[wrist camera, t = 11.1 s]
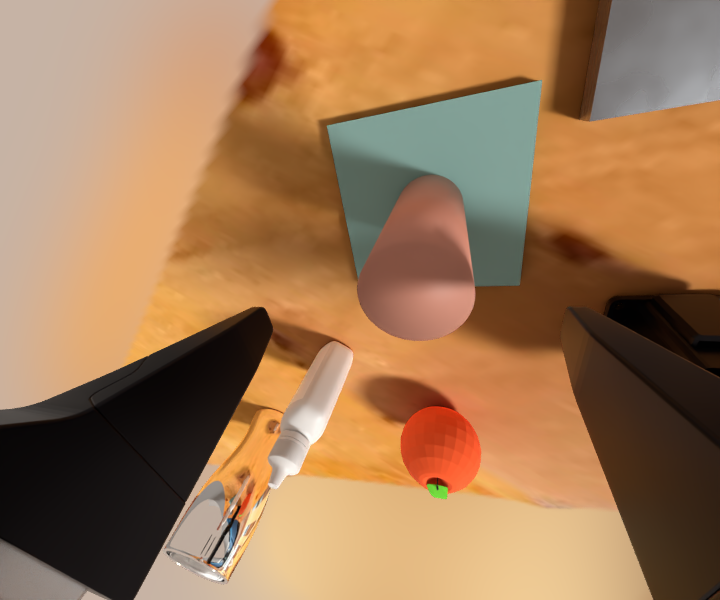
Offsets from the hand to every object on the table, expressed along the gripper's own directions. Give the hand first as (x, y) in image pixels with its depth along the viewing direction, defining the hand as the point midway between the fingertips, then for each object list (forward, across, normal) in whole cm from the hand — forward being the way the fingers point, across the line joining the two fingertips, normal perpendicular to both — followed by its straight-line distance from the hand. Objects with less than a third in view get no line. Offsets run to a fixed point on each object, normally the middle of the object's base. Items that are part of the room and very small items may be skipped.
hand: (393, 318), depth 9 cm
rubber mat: (+12, 0, 0) cm, 12 cm away
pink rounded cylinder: (+12, 0, 0) cm, 12 cm away
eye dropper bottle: (+13, +10, +14) cm, 21 cm away
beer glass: (+13, +21, +26) cm, 36 cm away
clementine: (+13, 0, +21) cm, 25 cm away
